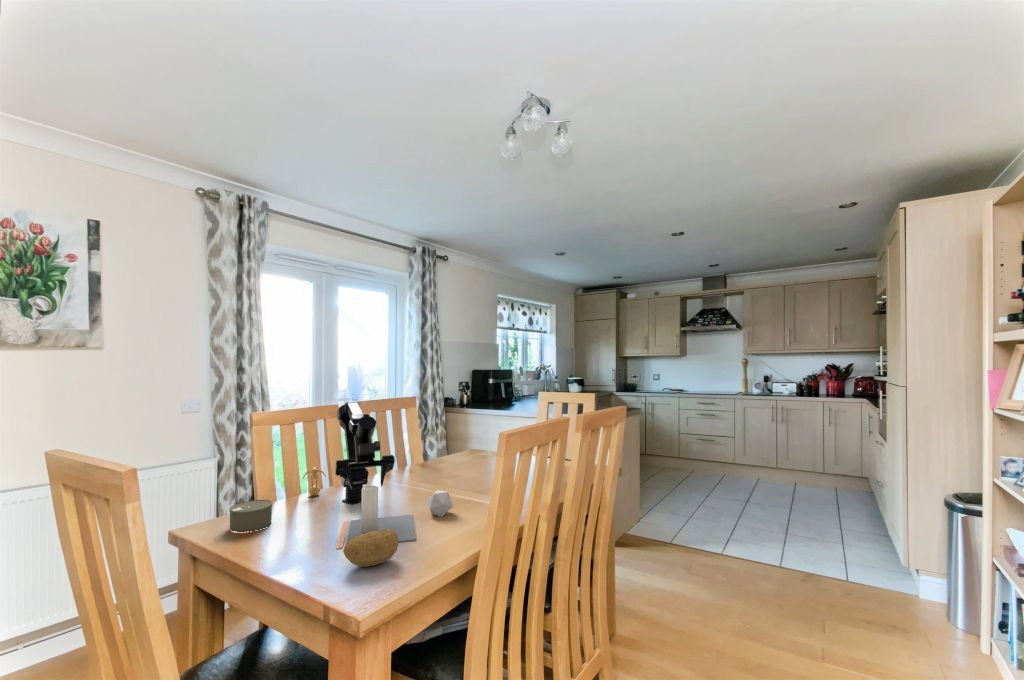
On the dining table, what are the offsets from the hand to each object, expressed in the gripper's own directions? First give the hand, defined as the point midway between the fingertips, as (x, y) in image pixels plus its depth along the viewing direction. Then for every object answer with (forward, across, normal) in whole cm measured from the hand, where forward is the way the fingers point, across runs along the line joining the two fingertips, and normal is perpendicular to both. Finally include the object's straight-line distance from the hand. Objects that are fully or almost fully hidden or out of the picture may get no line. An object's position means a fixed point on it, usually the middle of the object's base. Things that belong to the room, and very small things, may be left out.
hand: (367, 487), depth 145 cm
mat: (+13, +4, +4) cm, 14 cm away
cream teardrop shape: (+12, 0, +4) cm, 13 cm away
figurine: (-20, -15, +38) cm, 46 cm away
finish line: (+12, -8, +5) cm, 15 cm away
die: (+9, +24, +9) cm, 27 cm away
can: (-2, -34, +19) cm, 39 cm away
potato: (+29, -3, -12) cm, 32 cm away
